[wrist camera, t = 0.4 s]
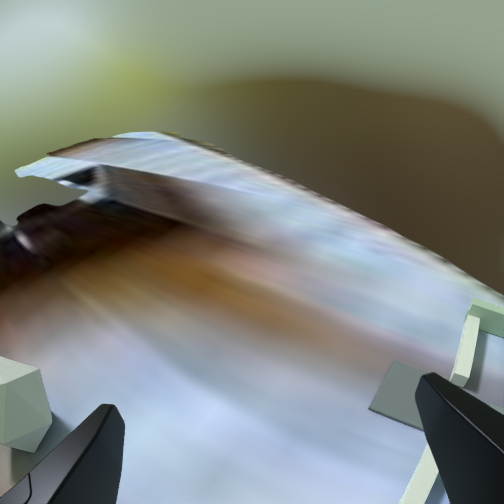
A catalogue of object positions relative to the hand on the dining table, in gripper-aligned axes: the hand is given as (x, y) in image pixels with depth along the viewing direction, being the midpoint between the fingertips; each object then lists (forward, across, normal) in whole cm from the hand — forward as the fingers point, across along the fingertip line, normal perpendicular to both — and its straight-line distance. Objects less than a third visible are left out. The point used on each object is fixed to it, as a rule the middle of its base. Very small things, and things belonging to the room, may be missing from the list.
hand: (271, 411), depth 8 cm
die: (+9, +23, +16) cm, 29 cm away
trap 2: (+11, -13, +15) cm, 22 cm away
